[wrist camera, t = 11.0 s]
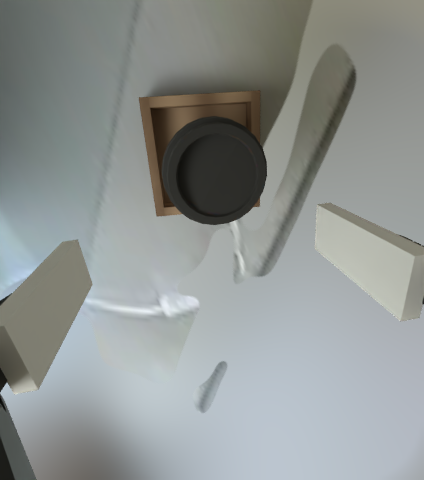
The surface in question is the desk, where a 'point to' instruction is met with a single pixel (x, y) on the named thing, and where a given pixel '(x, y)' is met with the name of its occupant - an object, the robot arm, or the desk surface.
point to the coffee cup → (214, 170)
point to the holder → (185, 111)
